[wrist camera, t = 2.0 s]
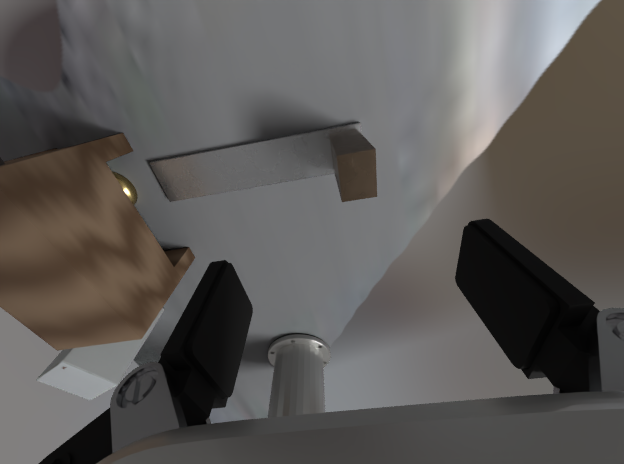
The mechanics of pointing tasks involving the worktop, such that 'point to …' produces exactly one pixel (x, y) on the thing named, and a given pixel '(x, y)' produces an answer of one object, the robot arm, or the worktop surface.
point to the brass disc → (127, 187)
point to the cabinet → (80, 249)
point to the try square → (275, 164)
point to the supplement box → (93, 366)
